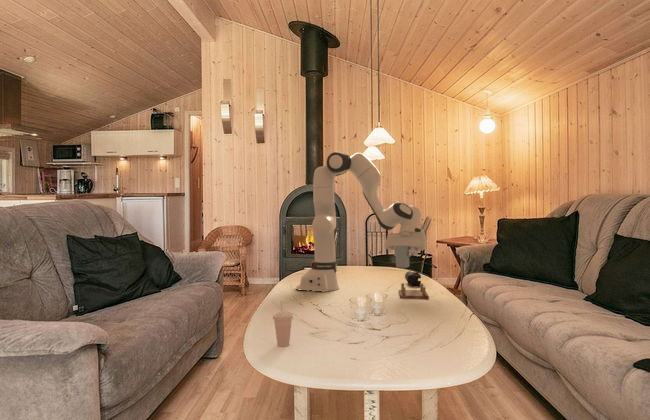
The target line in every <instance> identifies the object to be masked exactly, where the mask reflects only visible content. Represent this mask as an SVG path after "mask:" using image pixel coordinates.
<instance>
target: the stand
mask: <svg viewBox="0 0 650 420" xmlns="http://www.w3.org/2000/svg"><path fill="white" fill-rule="evenodd" d="M400 287H401V288H400V289H398V296H399V299H422V300H423V299H424V300H427V299H429V297H430V296H429V295H428V292H427V290H426V287H424V283H422V282H421V284H420V287H419V289H406V286H405V283H404V282H401V284H400Z"/></svg>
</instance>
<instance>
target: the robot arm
mask: <svg viewBox="0 0 650 420" xmlns="http://www.w3.org/2000/svg"><path fill="white" fill-rule="evenodd" d="M325 164H326V165H323V166H318V167H316V168H315V169H314V173H313V180H312V181H313V182H312V192H313V193H312V194H313V195H312V196H313V199H312V201H313V206H314V207H313V208H314V215H315V216H314V217H315V218H314V219H313V221H312V223H311V227H312V237H313V246H314V247H313V248H314V249H313V250H314V252H313V253H314V260H313V261H311V262H310V269H309V270H308V271H306V272H305V273H304V274H303V275H302V276H301V277H300V280H299V281H300V282H299V284H298V285H297V286H296V287H295V289H296V288H297V289H301V290H312V291H311V292H315V291H322V292H321V293H326V292H331V291H336V290H339V288H340V286H339V281H338V276H337V271H338V268H337V267H338V265H337V261H336V260H337V259H336V256H337V255H336V241H335V240H336V239H335V230H336V227H337V214H336V204H335V203H336V202H335V178H336V177H338V176H341V175H344V174H346V173H347V172H351V173H352V174H353V175H354V177H356V179H357V180H358V182H359V183H360V186H361V189H362V194H363V196H364V198H365V200H366V202H367V203H368V205H369V207H370V209H371V210H372V212H373V214H374V215H375V218H376V220H377V223H378V225H379V226H380V227H381V228H382V229H384V230H386V231H391V230H393V229H395V227H397V225H400V227H399V230H398V232H397V233H395V232H394V233H393V232H391V233H390V234H387V236H386V239H385V242H384V248H385V249H386V250H389V251H390V250H391V251H393V255H394V257H396V246H408V247H409V252H407V257H409V258H410V257H412V255H413V253H415V251H422V252H423V251H425V250H426V248H427V236H426V233H425V230H424V229H422V228H419V226H420V224H421V220H422V219H421V217H422V213H421V209H419V207H417V206H415V205H408V204H406V203H404V202H402V201H395V202H394V203H392V204H391V205H390V206H389V207H388V208H385V207H384V205H383V204H382V202H381V201H380V199H379V197H378V192H377V191H378V188H379V186H380V184H381V179H382V178H381V173H380V171H379V170H378V168H377V167H376V165H374V163H373V162H372V161H371V160H370V159H369V158H368V157H367V155H365V154H364V153H362V152H356V153H354V154H353V155H351V156H350V155H348V154H347V153H343V152H340V151H334V152H331V153H330V154H328V156H327V158H326V163H325ZM325 291H326V292H325Z"/></svg>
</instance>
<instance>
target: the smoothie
mask: <svg viewBox="0 0 650 420" xmlns="http://www.w3.org/2000/svg"><path fill="white" fill-rule="evenodd" d="M293 318H294V316H293V313H291V312H285V311H284V312H283V300H280V312H277V313H274V314H273V315H272V319H273V321H274V329H275V336H276V343H277V344H276V345H277V346H278V347H280V348H283V347H284V348H285V347H288V346H290V340H291V333H292V332H291V330H292V321H293V320H292V319H293Z"/></svg>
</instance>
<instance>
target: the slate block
mask: <svg viewBox="0 0 650 420" xmlns="http://www.w3.org/2000/svg"><path fill="white" fill-rule="evenodd" d="M409 251H410V250H409V247H408V246H396V256H395V267H396V268H402V269H407V268H408V267H410V257H407V252H409Z"/></svg>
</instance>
